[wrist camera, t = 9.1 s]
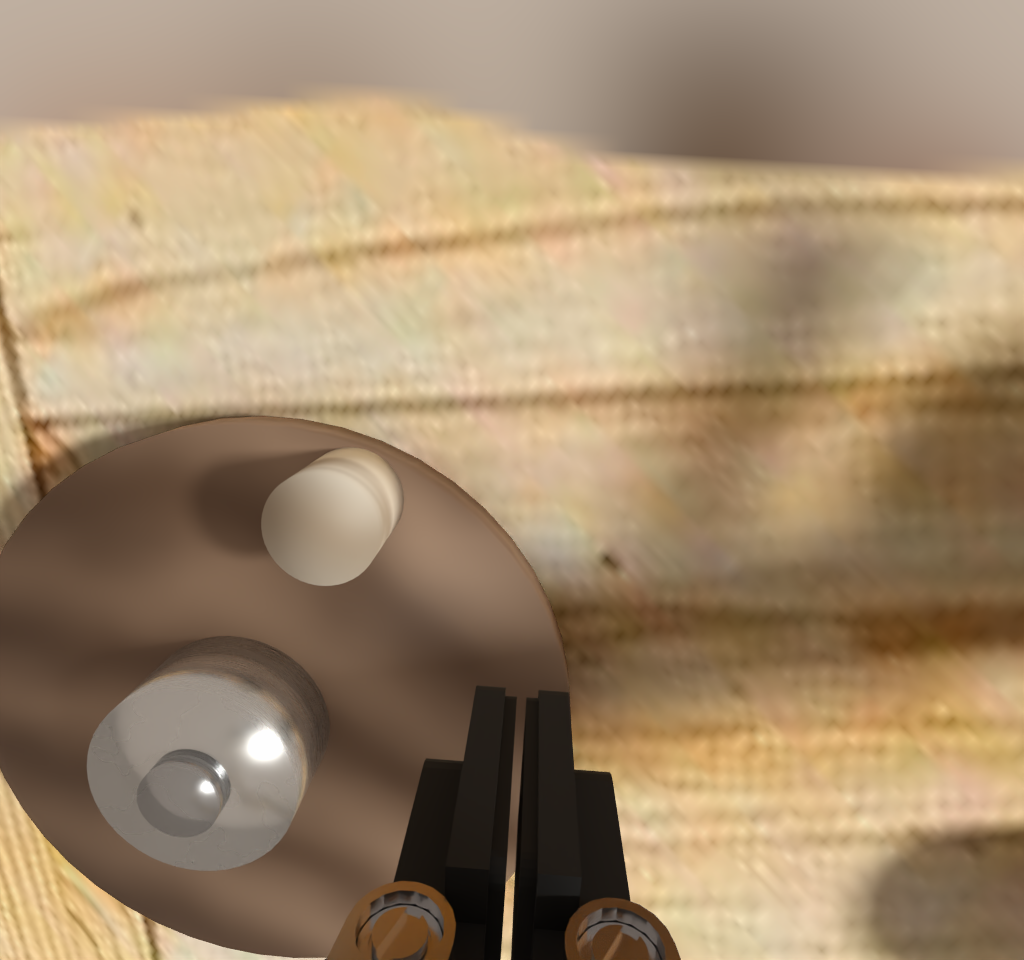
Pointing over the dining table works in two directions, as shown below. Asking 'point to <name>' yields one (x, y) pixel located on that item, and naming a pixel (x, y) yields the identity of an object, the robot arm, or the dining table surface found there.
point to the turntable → (279, 623)
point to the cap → (210, 754)
